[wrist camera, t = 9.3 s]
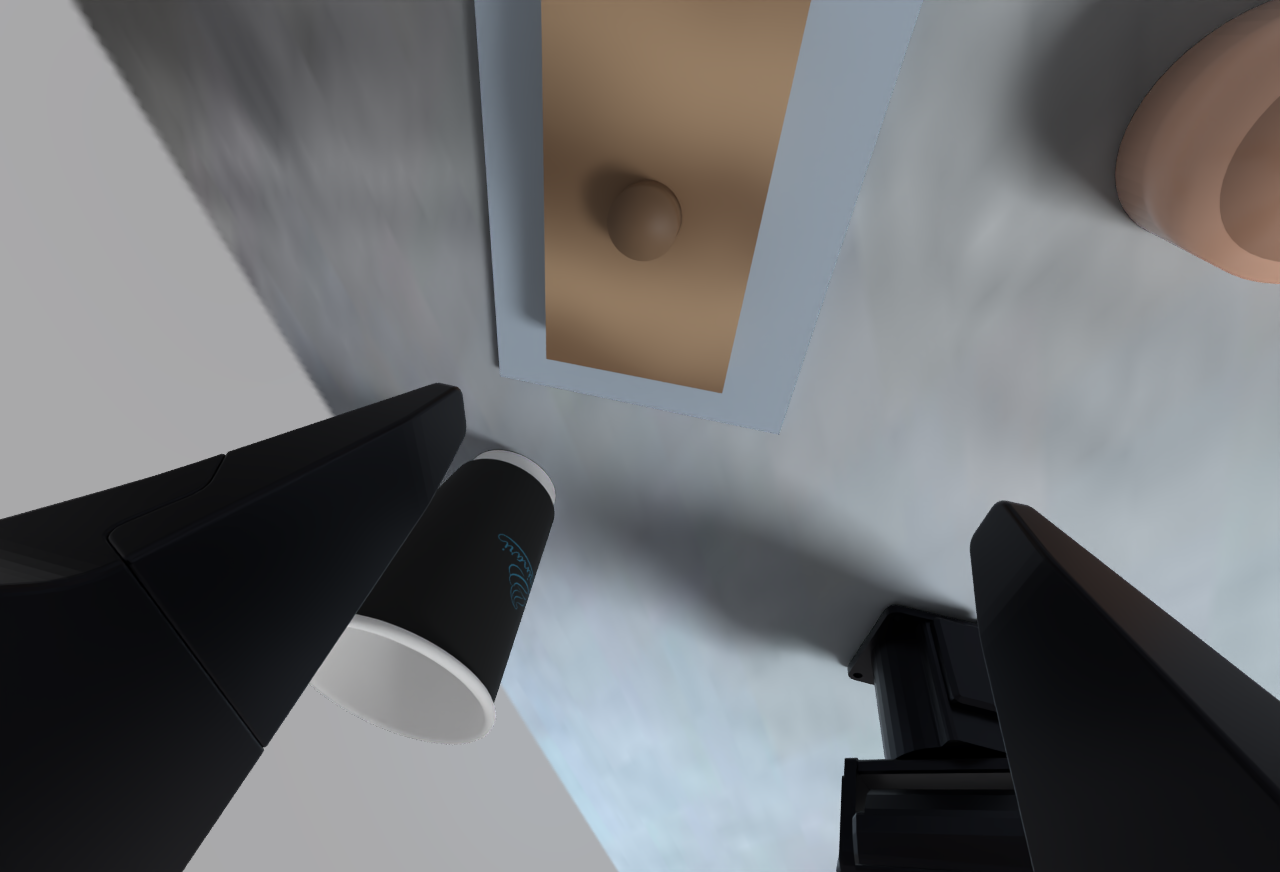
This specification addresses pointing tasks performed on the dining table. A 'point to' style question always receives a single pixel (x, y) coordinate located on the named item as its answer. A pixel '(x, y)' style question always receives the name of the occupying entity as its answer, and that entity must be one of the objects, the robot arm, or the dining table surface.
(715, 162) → the lid
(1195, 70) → the ramekin
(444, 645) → the dixie cup
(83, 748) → the robot arm
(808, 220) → the mat
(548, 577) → the dining table surface
